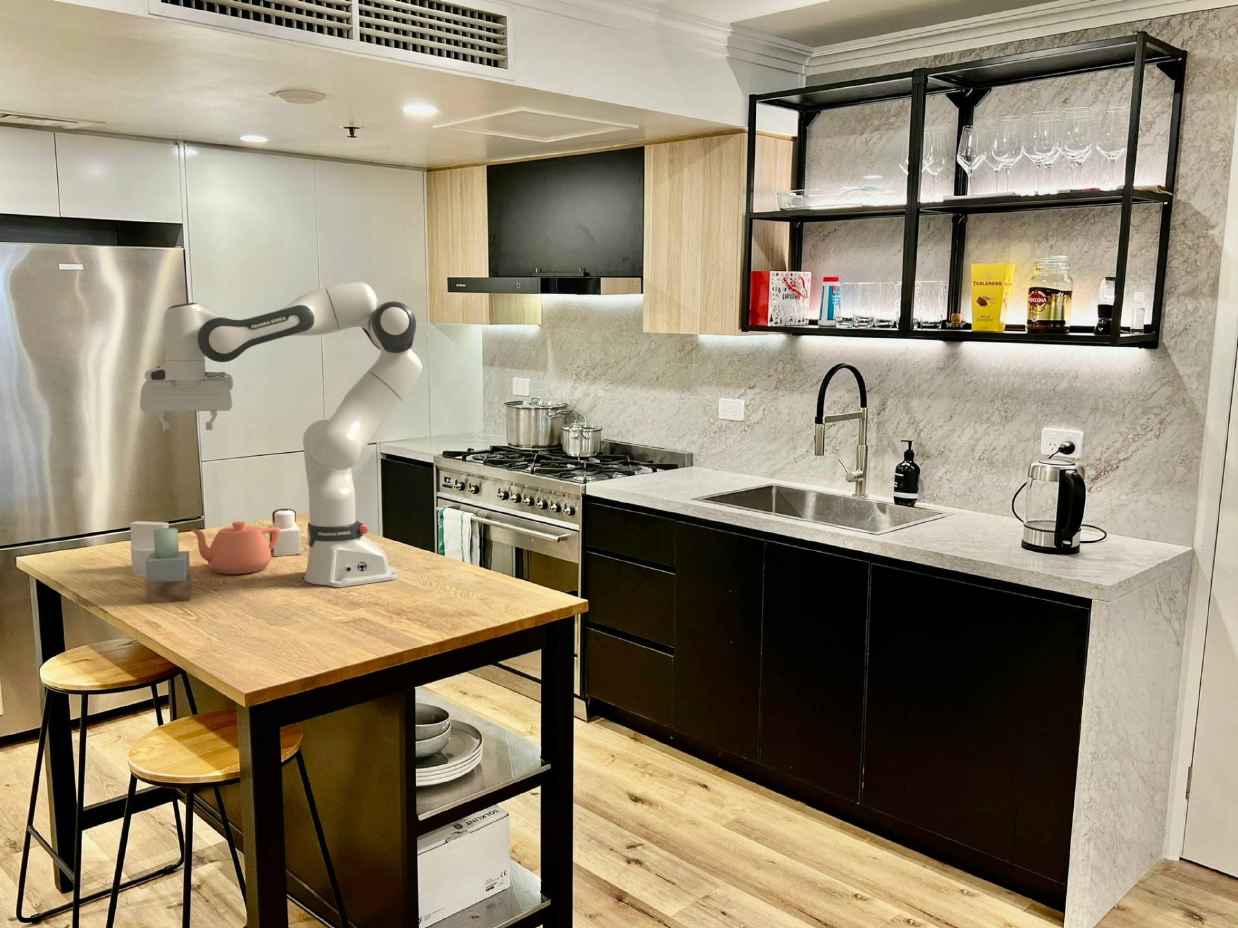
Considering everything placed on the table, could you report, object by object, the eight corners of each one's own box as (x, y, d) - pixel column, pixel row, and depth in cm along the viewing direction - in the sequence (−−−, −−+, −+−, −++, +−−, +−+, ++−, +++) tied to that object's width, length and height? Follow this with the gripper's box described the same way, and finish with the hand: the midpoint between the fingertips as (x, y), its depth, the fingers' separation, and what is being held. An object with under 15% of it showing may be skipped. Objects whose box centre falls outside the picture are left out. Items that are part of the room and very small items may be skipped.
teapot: (198, 582, 250) (196, 533, 248) (184, 568, 262) (182, 521, 260) (289, 570, 262) (287, 523, 260) (272, 558, 274) (270, 513, 272)
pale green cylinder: (179, 552, 239) (177, 527, 238) (178, 557, 234) (177, 531, 233) (155, 554, 237) (154, 528, 236) (154, 559, 233) (153, 533, 232)
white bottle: (270, 551, 282) (268, 508, 280) (297, 549, 285) (295, 506, 283) (273, 557, 275) (271, 513, 273) (300, 554, 278) (299, 511, 276)
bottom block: (191, 591, 243) (190, 570, 242) (190, 601, 235) (189, 580, 234) (149, 594, 240) (148, 573, 239) (147, 605, 232) (145, 583, 231)
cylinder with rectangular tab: (177, 565, 265) (175, 520, 263) (159, 574, 256) (156, 527, 254) (144, 564, 266) (142, 518, 264) (124, 573, 257) (122, 526, 255)
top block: (189, 571, 241) (188, 551, 241) (184, 580, 234) (183, 559, 233) (153, 573, 239) (152, 552, 239) (146, 582, 232) (145, 560, 231)
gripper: (231, 371, 250) (233, 427, 252) (139, 371, 242) (142, 429, 244) (232, 372, 244) (235, 430, 246) (138, 373, 236) (141, 433, 238)
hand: (188, 430), depth 245 cm, fingers open, 8 cm apart
